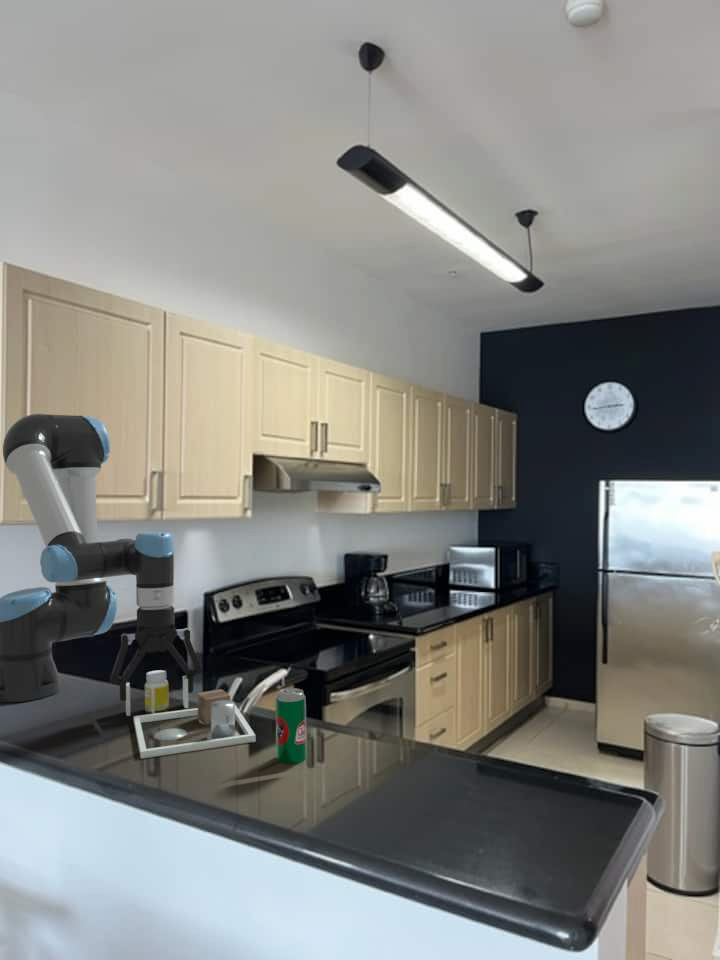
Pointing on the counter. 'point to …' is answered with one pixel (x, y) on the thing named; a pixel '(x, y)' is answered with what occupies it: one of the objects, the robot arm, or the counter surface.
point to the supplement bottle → (156, 692)
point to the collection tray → (178, 733)
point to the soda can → (291, 726)
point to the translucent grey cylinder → (222, 719)
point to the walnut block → (209, 703)
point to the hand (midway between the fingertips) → (157, 712)
